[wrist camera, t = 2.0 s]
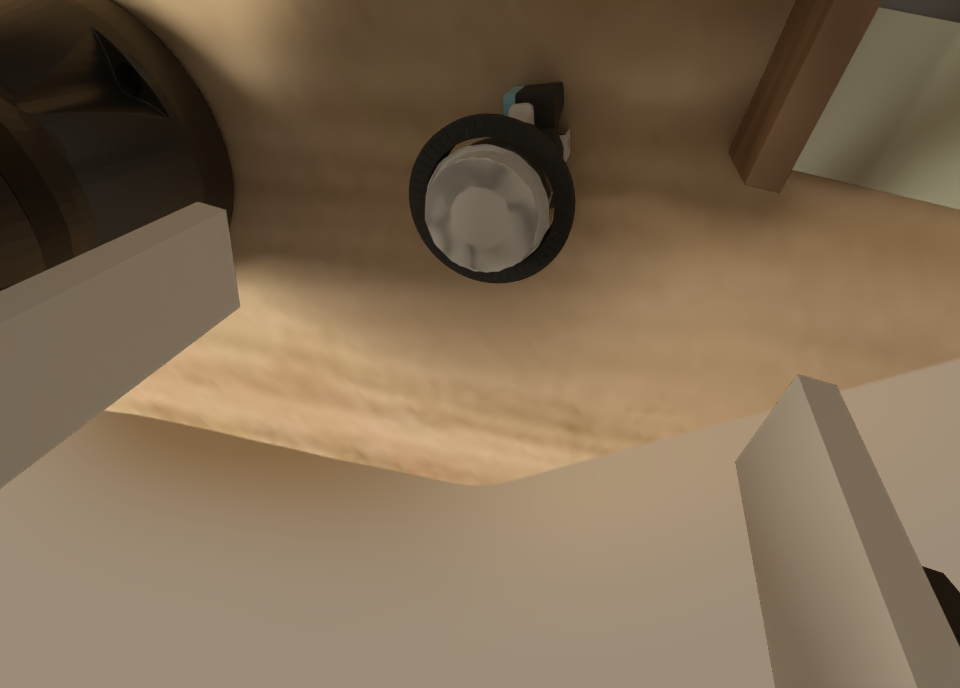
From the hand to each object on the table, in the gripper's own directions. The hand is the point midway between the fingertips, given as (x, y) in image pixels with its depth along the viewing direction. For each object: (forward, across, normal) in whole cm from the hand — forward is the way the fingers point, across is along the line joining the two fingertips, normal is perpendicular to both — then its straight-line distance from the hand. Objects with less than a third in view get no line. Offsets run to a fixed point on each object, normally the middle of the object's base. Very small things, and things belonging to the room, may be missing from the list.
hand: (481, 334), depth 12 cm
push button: (+15, -1, 0) cm, 15 cm away
